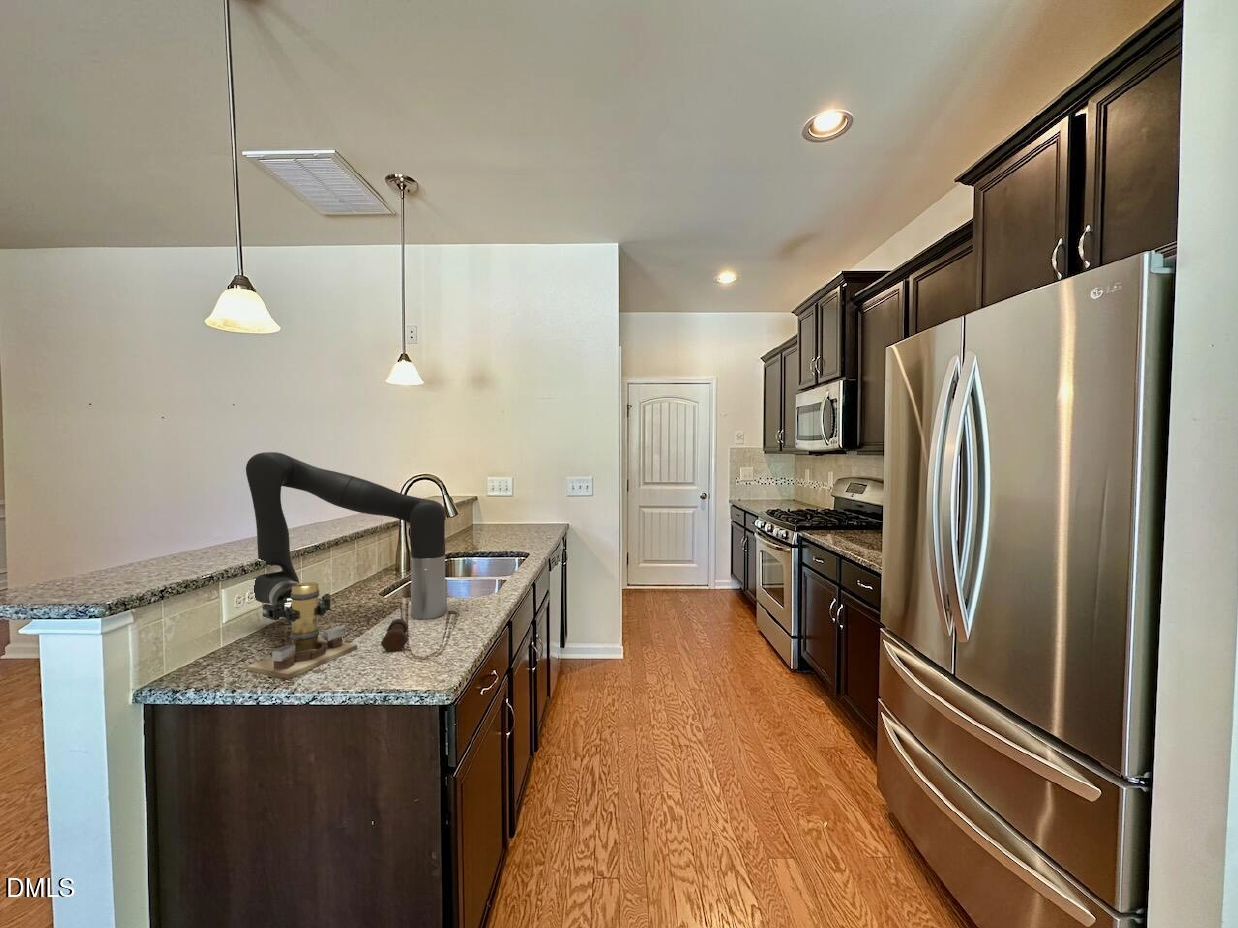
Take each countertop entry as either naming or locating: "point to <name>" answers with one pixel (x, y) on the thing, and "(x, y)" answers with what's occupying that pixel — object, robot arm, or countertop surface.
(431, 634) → the countertop surface
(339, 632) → the pair of grey blocks
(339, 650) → the coupling base
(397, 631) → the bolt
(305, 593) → the cylinder
